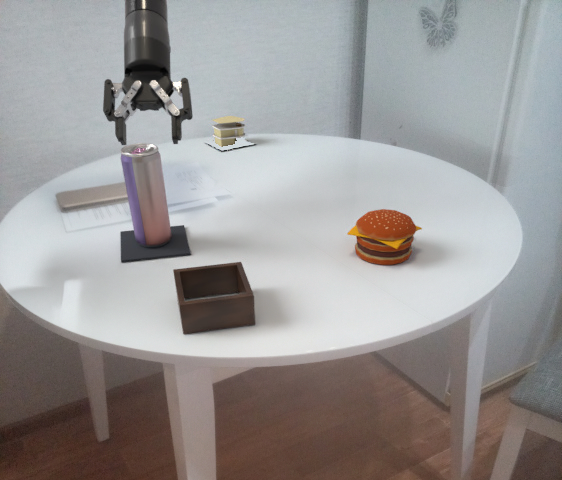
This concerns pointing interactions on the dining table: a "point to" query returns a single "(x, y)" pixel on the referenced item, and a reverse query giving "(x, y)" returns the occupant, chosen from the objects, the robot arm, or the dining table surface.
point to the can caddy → (216, 309)
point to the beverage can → (146, 194)
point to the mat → (171, 249)
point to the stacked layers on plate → (228, 130)
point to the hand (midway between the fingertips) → (149, 142)
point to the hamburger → (384, 236)
